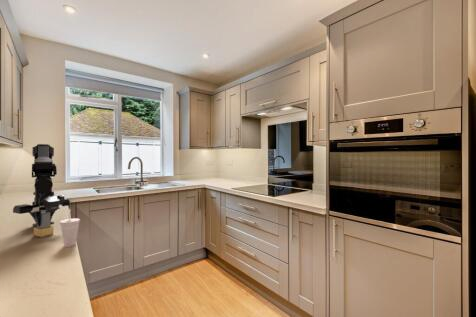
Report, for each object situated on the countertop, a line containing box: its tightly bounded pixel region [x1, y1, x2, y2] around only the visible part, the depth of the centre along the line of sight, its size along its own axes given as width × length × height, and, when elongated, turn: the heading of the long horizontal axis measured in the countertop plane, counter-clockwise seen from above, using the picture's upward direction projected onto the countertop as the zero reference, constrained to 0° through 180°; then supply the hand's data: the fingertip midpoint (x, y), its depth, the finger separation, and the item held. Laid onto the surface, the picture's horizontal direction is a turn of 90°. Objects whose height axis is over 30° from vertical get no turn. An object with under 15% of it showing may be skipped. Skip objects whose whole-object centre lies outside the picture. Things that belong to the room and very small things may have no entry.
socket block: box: [33, 225, 54, 239], centre depth 100 cm, size 5×5×4 cm
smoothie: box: [59, 208, 81, 248], centre depth 89 cm, size 6×6×14 cm
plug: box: [36, 211, 51, 229], centre depth 100 cm, size 4×3×8 cm
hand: (43, 225), depth 100 cm, fingers closed on plug, 3 cm apart
